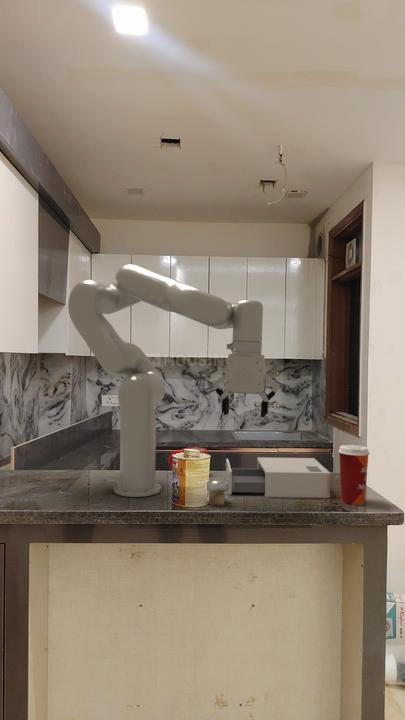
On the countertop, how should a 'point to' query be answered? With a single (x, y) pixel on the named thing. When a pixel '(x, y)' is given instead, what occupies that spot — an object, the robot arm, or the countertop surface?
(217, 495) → the brown wooden cube
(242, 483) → the drawer
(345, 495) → the paper cup
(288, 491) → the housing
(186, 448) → the mug
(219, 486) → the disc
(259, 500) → the countertop surface
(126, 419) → the robot arm
